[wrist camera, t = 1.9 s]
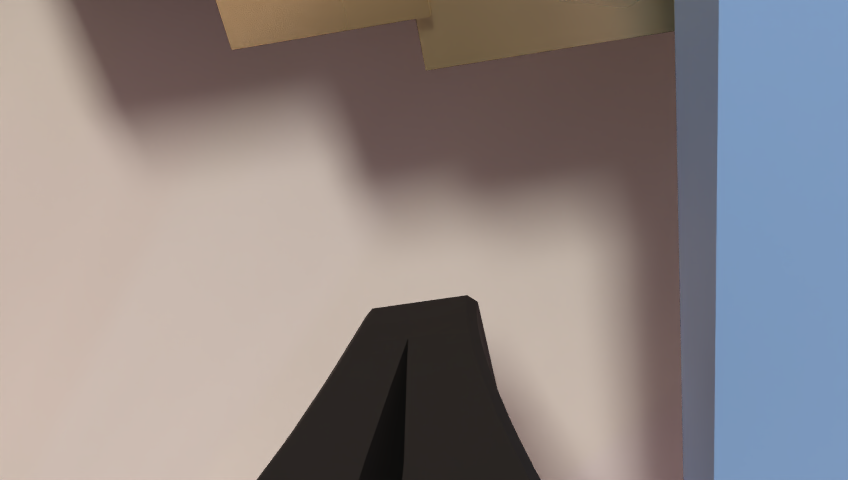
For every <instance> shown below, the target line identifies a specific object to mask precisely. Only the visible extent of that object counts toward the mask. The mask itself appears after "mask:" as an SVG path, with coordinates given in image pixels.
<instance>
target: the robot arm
mask: <svg viewBox="0 0 848 480" xmlns="http://www.w3.org/2000/svg"><path fill="white" fill-rule="evenodd" d="M257 480H541V479H540V478H539V476H538V474H537V472H536V470H535V469H534V467H533V465H532V463H531V461H530V459H529V457H528V455H527V453H526V451H525V449H524V447H523V445H522V443H521V441H520V439H519V437H518V435H517V433H516V431H515V429H514V427H513V425H512V423H511V420H510V418H509V416H508V414H507V411H506V409H505V406H504V404H503V402H502V399H501V397H500V395H499V392H498V390H497V386H496V382H495V377H494V373H493V368H492V364H491V359H490V355H489V350H488V346H487V341H486V337H485V333H484V328H483V324H482V319H481V315H480V310H479V306H478V302H477V301H475V300H474V299H472V298H471V297H469V296H467V295H466V296H459V297H452V298H444V299H437V300H430V301H423V302H416V303H409V304H402V305H395V306H388V307H381V308H374V309H372V310H371V311H370V312H369V314H368V315H367V316H366V318H365V319H364V321H363V322H362V324H361V326H360V327H359V329H358V330H357V332H356V334H355V335H354V337H353V339H352V340H351V342H350V343H349V345H348V347H347V348H346V350H345V352H344V353H343V355H342V356H341V358H340V360H339V361H338V363H337V365H336V366H335V368H334V369H333V371H332V372H331V374H330V376H329V377H328V379H327V380H326V382H325V383H324V385H323V387H322V388H321V390H320V391H319V393H318V394H317V396H316V397H315V399H314V400H313V402H312V403H311V405H310V406H309V408H308V409H307V411H306V412H305V413H304V415H303V416H302V418H301V419H300V421H299V422H298V424H297V425H296V427H295V428H294V430H293V431H292V433H291V434H290V436H289V437H288V438H287V440H286V441H285V443H284V444H283V445H282V447H281V448H280V449H279V451H278V452H277V453H276V455H275V456H274V457H273V459H272V460H271V461H270V463H269V464H268V465H267V467H266V468H265V469H264V471H263V472H262V473H261V475H260V476H259V477H258V479H257Z"/></svg>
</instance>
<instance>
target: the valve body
mask: <svg viewBox="0 0 848 480" xmlns="http://www.w3.org/2000/svg"><path fill="white" fill-rule="evenodd" d="M216 3H217V6H218V9H219V12H220V15H221V19H222V22H223V25H224V28H225V31H226V34H227V37H228V40H229V43H230V46H231V49H232V50H235V49H241V48H247V47H253V46H259V45H264V44H270V43H276V42H282V41H288V40H294V39H300V38H306V37H312V36H318V35H324V34H330V33H335V32H341V31H347V30H353V29H359V28H365V27H371V26H377V25H383V24H389V23H395V22H400V21H406V20H412V19H416V23H417V28H418V33H419V38H420V43H421V49H422V54H423V59H424V64H425V69H426V71H427V70H433V69H439V68H445V67H452V66H458V65H464V64H470V63H477V62H483V61H489V60H496V59H502V58H508V57H514V56H521V55H527V54H533V53H539V52H546V51H552V50H558V49H565V48H571V47H577V46H583V45H590V44H596V43H602V42H608V41H615V40H621V39H627V38H634V37H640V36H646V35H652V34H659V33H665V32H671V31H675V16H674V0H216Z"/></svg>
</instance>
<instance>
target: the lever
mask: <svg viewBox="0 0 848 480" xmlns="http://www.w3.org/2000/svg"><path fill="white" fill-rule="evenodd" d="M674 16H675V68H676V120H677V171H678V223H679V275H680V327H681V379H682V431H683V480H848V0H674Z"/></svg>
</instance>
